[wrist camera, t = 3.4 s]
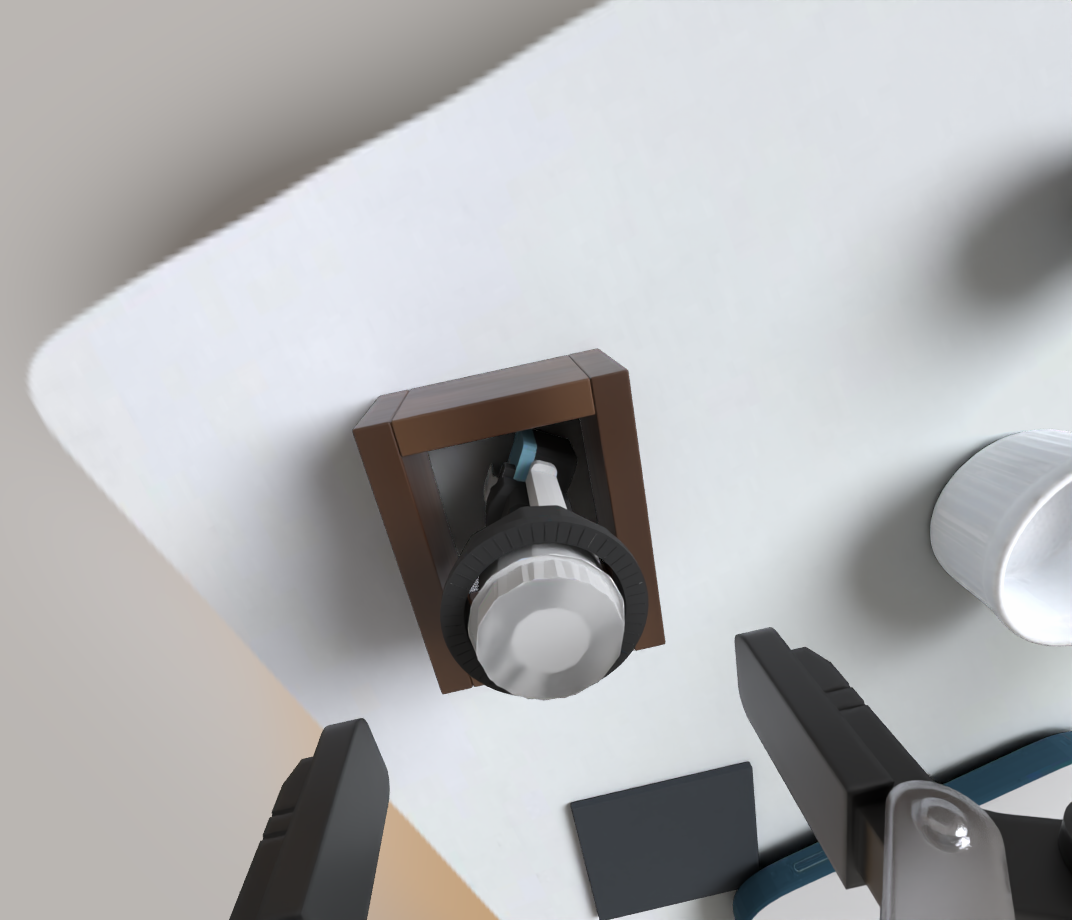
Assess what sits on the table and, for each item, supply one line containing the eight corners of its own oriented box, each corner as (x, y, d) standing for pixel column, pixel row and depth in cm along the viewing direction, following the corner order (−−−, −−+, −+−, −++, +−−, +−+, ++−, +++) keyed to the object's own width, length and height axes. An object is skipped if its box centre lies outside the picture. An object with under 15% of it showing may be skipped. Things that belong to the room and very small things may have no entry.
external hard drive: (771, 970, 35) (788, 1010, 33) (711, 879, 31) (727, 918, 29) (1107, 820, 34) (1144, 853, 32) (1090, 703, 30) (1131, 733, 28)
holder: (449, 619, 24) (441, 695, 20) (378, 395, 20) (350, 430, 16) (634, 578, 24) (666, 644, 20) (598, 347, 20) (628, 369, 16)
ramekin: (915, 610, 26) (994, 673, 22) (912, 449, 23) (1003, 488, 19) (1088, 559, 26) (1200, 612, 22) (1109, 390, 23) (1243, 416, 19)
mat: (598, 914, 32) (600, 922, 32) (570, 802, 29) (571, 809, 28) (757, 877, 32) (760, 884, 32) (749, 761, 29) (752, 767, 28)
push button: (553, 575, 24) (598, 778, 14) (435, 549, 23) (401, 748, 13) (603, 438, 22) (695, 571, 12) (477, 403, 21) (471, 517, 11)
